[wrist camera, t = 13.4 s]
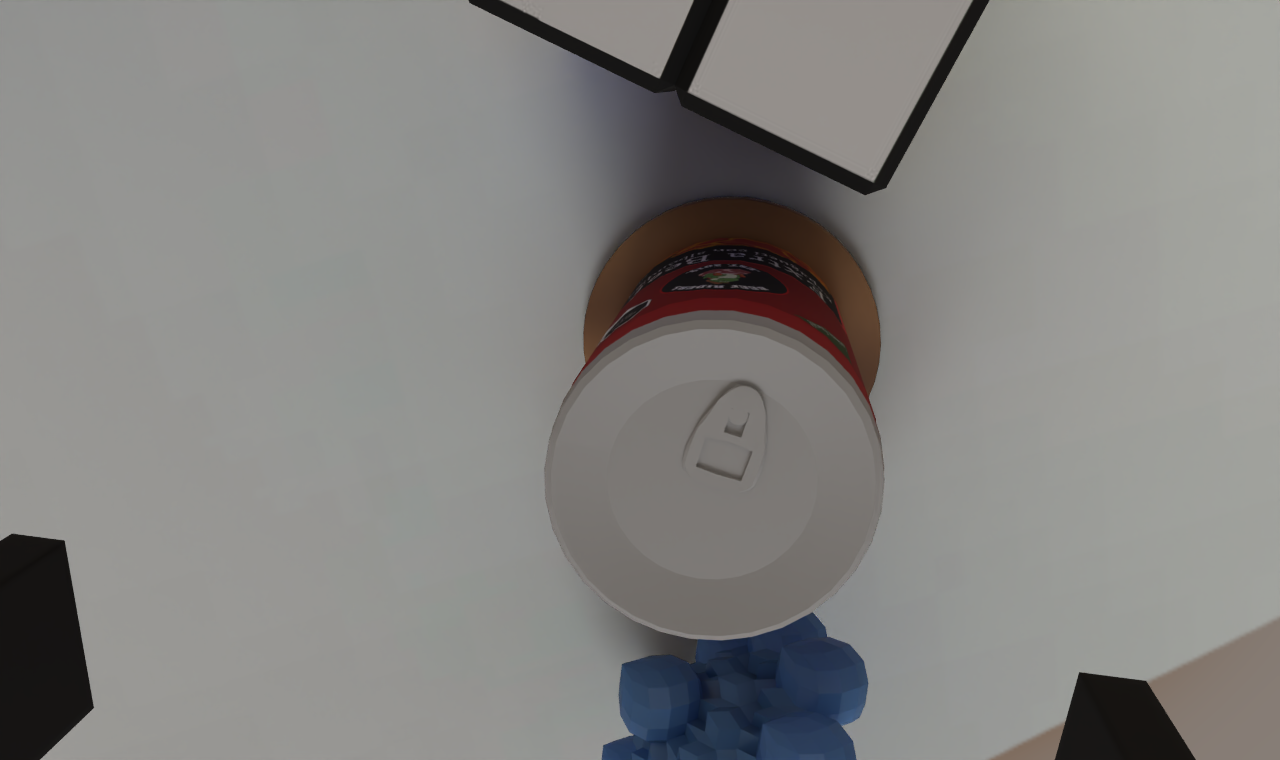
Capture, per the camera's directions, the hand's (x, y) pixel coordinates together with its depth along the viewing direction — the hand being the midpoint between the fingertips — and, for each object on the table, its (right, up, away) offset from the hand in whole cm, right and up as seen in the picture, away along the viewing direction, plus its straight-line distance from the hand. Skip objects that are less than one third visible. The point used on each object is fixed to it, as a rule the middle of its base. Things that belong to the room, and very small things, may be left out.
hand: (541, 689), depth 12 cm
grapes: (+4, -5, +23) cm, 24 cm away
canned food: (+4, +5, +19) cm, 20 cm away
